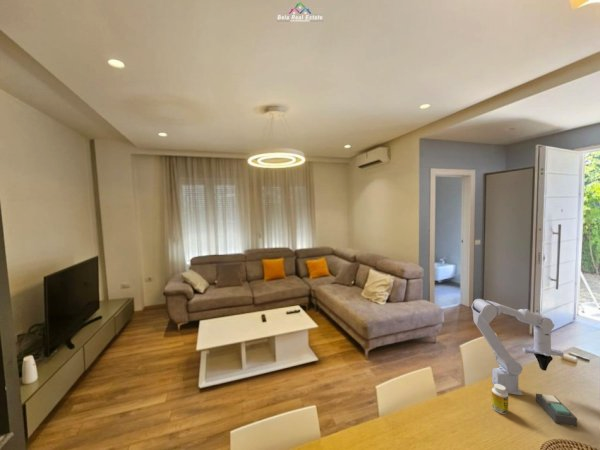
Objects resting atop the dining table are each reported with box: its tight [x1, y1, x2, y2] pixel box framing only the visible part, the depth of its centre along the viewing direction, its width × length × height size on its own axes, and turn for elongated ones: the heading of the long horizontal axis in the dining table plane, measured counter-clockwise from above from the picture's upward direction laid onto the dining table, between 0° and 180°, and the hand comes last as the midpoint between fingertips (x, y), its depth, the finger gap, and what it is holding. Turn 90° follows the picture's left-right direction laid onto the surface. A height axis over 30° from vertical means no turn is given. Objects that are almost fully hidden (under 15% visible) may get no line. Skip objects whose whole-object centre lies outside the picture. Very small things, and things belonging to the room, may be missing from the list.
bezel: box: [535, 393, 578, 425], centre depth 105 cm, size 7×12×2 cm, turn 164°
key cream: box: [541, 393, 561, 404], centre depth 108 cm, size 4×4×2 cm
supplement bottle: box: [491, 384, 509, 415], centre depth 108 cm, size 6×6×10 cm
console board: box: [535, 398, 578, 427], centre depth 105 cm, size 7×12×1 cm, turn 164°
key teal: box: [550, 403, 571, 415], centre depth 103 cm, size 4×4×2 cm
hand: (542, 369), depth 118 cm, fingers closed
